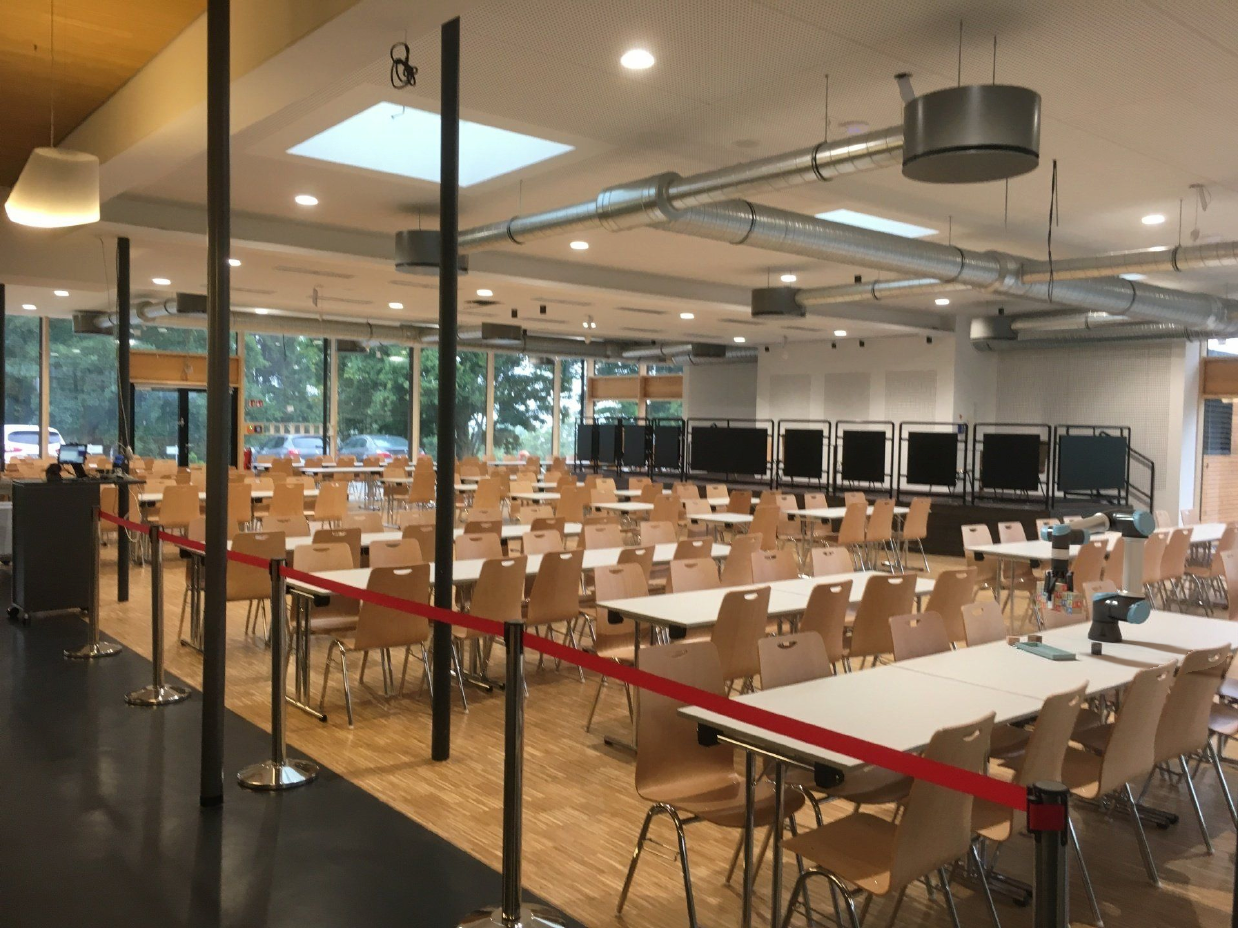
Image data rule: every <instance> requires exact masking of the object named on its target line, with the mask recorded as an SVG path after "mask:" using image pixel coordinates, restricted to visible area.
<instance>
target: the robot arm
mask: <svg viewBox="0 0 1238 928" xmlns="http://www.w3.org/2000/svg"><path fill="white" fill-rule="evenodd" d="M1155 529H1156V520H1155V518H1154V516H1153V515H1152V513H1151V512H1149V511H1147V510H1143V509H1142V510H1141V509H1130V508H1113V509H1108V510H1104V511H1100V512H1097V513H1095V514H1094V515H1092V516H1089V517H1086V518H1082V519H1078V520H1074V521H1069V522H1066V523H1063V524H1061V523H1060V524H1057V523H1056V524H1053V525H1044V526H1043V527H1042V528H1041V530H1040V538H1041V540H1043V541H1044V542H1048V543H1051V552H1050V553H1051V555H1050V556H1051V558H1050V567H1051V568H1050V570H1045V571H1044V576H1045V577H1044V581H1045V583H1044V590H1043V591H1044V592H1046V593H1047V601H1048V608H1051V609H1053V604H1054V594H1052V593H1053V590H1054V588H1055V584H1056V583H1058V581H1059V580H1060V581H1061V583H1062V584H1067V591H1070V592H1075V591H1074V590H1075V588H1074V574H1075V571H1073V570H1072V571H1071V570H1069V565H1070V560H1069V558H1070V550H1071V549H1070V546H1085V545H1087V544H1089V543H1090V541H1091V534H1094V533H1097V532H1099V533H1105V532H1111V533H1112V532H1115V533H1119V534H1120V533H1121V538H1122V539H1123V540H1124V547H1123V548H1124V549H1123V563H1122V565H1123V567H1122V582H1121V583H1122V585H1121V590H1120V592H1096V593H1094V594H1093V598H1092V617H1091V621H1092V622H1091V624H1090V628H1089V631H1088V633H1087V639H1089V640H1092V641H1096V642H1104V643H1105V642H1107V643H1120V642H1122V641H1123V635H1122V632H1121V629H1120V626H1119V624H1120V623H1119V622H1124V623H1128V624H1131V625H1133V624H1134V625H1141V624H1144V623H1145V622H1146V621H1147V620H1148V619H1149V618H1150V614H1151V610H1152V609H1151V604H1150V602H1148V601H1147V600H1146V595H1145V594H1144V593H1143V583H1144V581H1143V580H1144V565H1145V564H1144V563H1145V548H1146V547H1145V546H1146V542H1147V541H1148V540H1149V539H1150V538H1149V537H1150V536H1151V535H1152V534H1153V533H1154V532H1155Z"/></svg>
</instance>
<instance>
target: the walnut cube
mask: <svg viewBox="0 0 1238 928" xmlns="http://www.w3.org/2000/svg"><path fill="white" fill-rule="evenodd" d="M1026 642H1039V643H1042V644H1043V636H1042V635H1037V634H1028V635H1027V641H1026Z"/></svg>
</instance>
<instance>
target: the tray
mask: <svg viewBox="0 0 1238 928" xmlns="http://www.w3.org/2000/svg"><path fill="white" fill-rule="evenodd" d="M1015 647H1017V648H1018V649H1017V648H1016V649H1017V650H1020V649H1021V650H1020V651H1023V650H1024V651H1023V652H1026V653H1030V654H1032V655H1036V656H1038V657H1041V658H1045V659H1047V660H1051V661H1073V660H1074V661H1075V660H1076V657H1077V656H1076V655H1077V654H1076V653H1073V652H1071V651H1067V650H1065V649H1064V650H1063V649H1061V648H1058V647H1055V646H1052V645H1048V644H1044V643H1043V642H1042V643H1039V642H1027V641H1020V642H1015V646H1014V648H1015Z"/></svg>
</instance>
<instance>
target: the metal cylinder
mask: <svg viewBox="0 0 1238 928" xmlns="http://www.w3.org/2000/svg"><path fill="white" fill-rule="evenodd" d="M1102 651H1103V643H1102V642H1100V641H1092V642H1091V644H1090V654H1091V655H1092V656H1093V655H1094V656H1102V655H1103V652H1102Z"/></svg>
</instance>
